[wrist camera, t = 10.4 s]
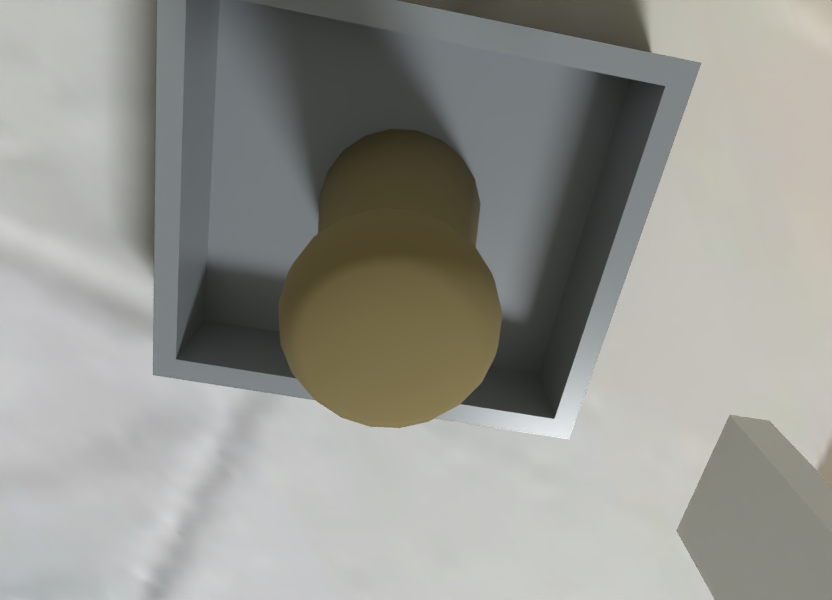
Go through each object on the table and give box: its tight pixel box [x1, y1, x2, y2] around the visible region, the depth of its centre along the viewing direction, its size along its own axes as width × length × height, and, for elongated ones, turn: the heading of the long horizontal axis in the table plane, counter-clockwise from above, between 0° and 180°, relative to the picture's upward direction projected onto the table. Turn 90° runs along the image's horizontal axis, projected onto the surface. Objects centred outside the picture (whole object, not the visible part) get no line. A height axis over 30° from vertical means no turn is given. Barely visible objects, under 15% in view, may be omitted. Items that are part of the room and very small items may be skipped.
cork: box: [278, 129, 502, 428], centre depth 18 cm, size 6×6×11 cm
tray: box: [153, 0, 701, 439], centre depth 22 cm, size 16×14×4 cm
